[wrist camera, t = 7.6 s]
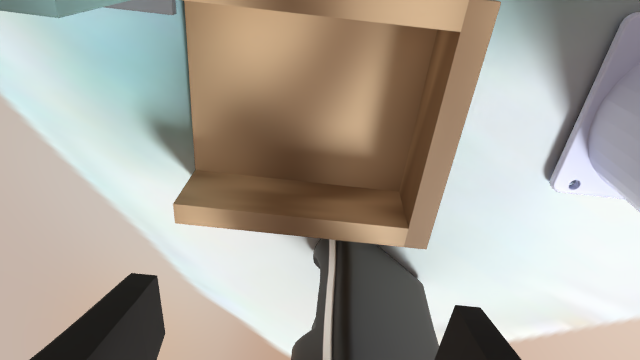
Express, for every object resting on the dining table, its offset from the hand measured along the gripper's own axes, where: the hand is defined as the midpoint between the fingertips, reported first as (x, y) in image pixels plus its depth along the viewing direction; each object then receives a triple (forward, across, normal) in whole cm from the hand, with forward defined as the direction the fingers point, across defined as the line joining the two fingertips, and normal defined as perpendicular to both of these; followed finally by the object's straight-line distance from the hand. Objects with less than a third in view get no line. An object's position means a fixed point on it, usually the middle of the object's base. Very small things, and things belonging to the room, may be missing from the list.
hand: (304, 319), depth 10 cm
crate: (+10, 0, -2) cm, 11 cm away
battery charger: (+11, -3, +8) cm, 13 cm away
